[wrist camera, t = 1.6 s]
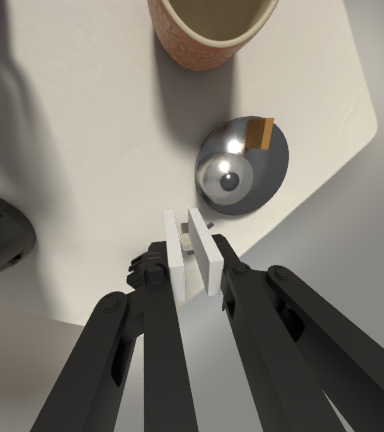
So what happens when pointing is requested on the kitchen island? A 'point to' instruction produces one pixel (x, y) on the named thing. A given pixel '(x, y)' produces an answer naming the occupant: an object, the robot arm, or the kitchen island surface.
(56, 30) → the kitchen island surface
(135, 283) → the end cap
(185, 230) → the gray post with pin
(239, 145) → the turntable
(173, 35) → the planter
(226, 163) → the cover
